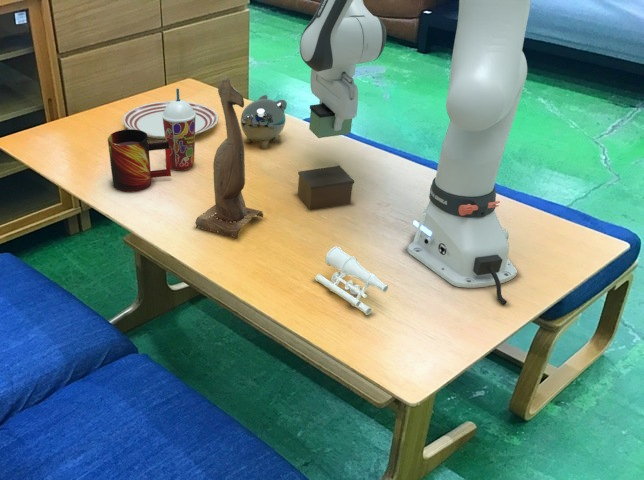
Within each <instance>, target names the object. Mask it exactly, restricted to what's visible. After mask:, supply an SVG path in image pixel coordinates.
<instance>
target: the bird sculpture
mask: <svg viewBox="0 0 644 480" xmlns="http://www.w3.org/2000/svg"><path fill="white" fill-rule="evenodd" d="M217 92H218V93H217V94H218V95H219V98H220V103H221V107H222V112H223V115H224V119H225V127H226V129H225V130H226V138H225V139H224V140H223V141H222V142H221V144H220V145H219V146H218V147H217V149H216V151H215V155H214V158H213V165H212V166H213V190H214V191H213V192H214V202H215V203H214V205H212V206H211V207H209V208H208V209H207V210H206V211H205V212H202V214H200V215H198V216H197V217H196V219H195V223H194V224H195V226H196V227H195V228H196V229H197V228H199V229H202V230H205V231H209V232H210V231H211V233H215V234H217V235H222V236H227V237H231V238H234V239H238V236H239V234H240V231H241V230H242V228H243V227H244V226H245V225H246V224H247V223H249V222H250V221H251V220H252V219H253V217H254V218H255V217H256V216H257V217H260V218H264V212H263V210H259V209H255V208H250V207H247V206H246V202H245V199H244V196H243V193H242V191H243V189H244V188H245V185H246V166H245V163H246V162H245V146H244V145H245V143H244V138H243V133H242V128H241V124H240V122H239V118H238V115H237V112H236V110H235V108H234V106H239V107H240V108H241V109H243V108H244V107H245V100H244V96H243V94H242V93H241V92H240V91H238V90H237V89H236V88H235V87H234V85H233V82H232V80H231V79H230V77H223V78H221V80H220V81H219V83H218V87H217Z"/></svg>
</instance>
